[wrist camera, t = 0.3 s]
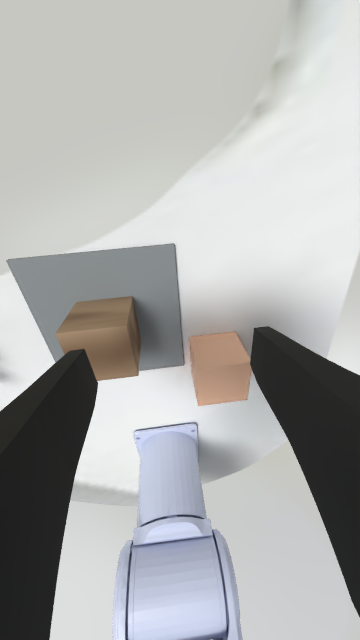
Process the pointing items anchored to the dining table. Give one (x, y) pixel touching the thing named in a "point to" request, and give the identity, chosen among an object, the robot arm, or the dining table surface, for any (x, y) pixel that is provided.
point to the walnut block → (104, 336)
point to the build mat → (108, 294)
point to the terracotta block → (219, 368)
